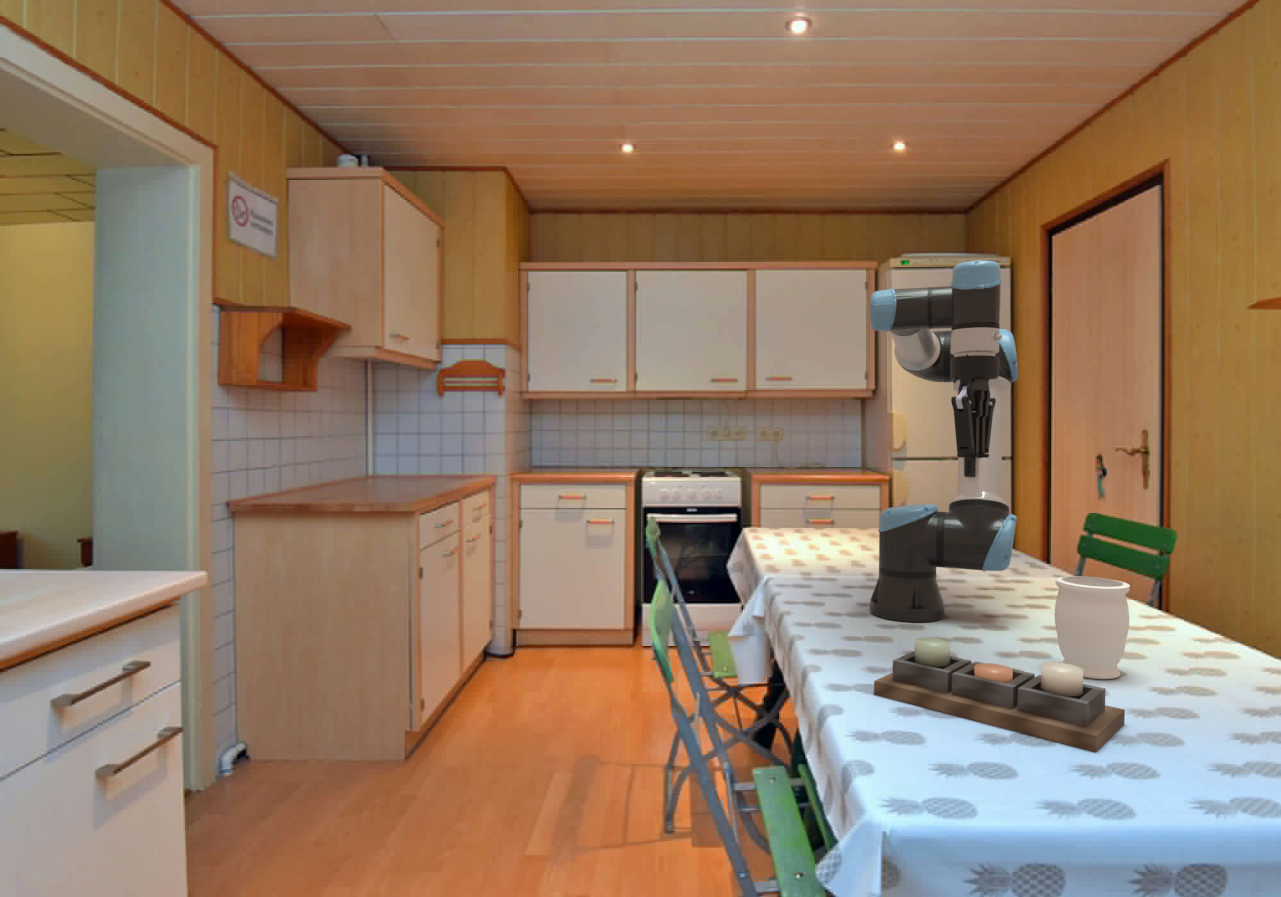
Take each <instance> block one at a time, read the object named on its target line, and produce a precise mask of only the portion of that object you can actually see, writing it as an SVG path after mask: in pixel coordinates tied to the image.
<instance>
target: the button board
mask: <svg viewBox="0 0 1281 897" xmlns="http://www.w3.org/2000/svg"><path fill="white" fill-rule="evenodd" d="M981 663H982V662H980V661H974V662H972V660H971V659H967V658H966V659H965V658H960V657H957V656H951V655H950V665H948V666H944V667H932V666H927V665H922V664H919V663H917V662H915V650H913V651H911V652H909V653H905V655H904V654H903V655H902V656H900V657H898V658H895V659H893V660H892V672H891V673H890V672H889V674H886V675H884V676H882V677H880V678H877V679H876V680H874V682H873V695H876V696H879V697H883V698H887V699H892V700H895V701H899V702H903V703H906V704H911V705H915V706H918V707H922V708H925V709H929V710H932V711H933V710H934V711H937V712H941V713H944V714H949V715H953V716H957V717H959V718H964V719H968V720H971V721H976V722H978V723H979V722H980V723H983V724H986V725H990V726H994V727H999V728H1002V729H1005V730H1009V731H1013V732H1014V731H1015V732H1018V733H1021V734H1026V735H1030V736H1032V737H1037V738H1041V739H1044V740H1048V741H1053V742H1055V743H1060V744H1064V745H1066V746H1072V747H1075V748H1079V749H1083V750H1087V751H1091V752H1094V753H1098V751H1099V750H1100V749H1101V748H1102V747H1103V746H1104V745H1105V744H1107V742H1108V741H1109V740H1110V739H1111V738H1112V737H1113V736H1114V735H1115V734H1116V733H1117V732H1118V731H1119V730H1120V729H1122V728H1123V726H1124V725H1125V720H1126V719H1125V717H1126V715H1125V713H1126V712H1125V711H1126V710H1125V709H1124V708H1119V707H1115V706H1111V705H1106V688H1105V687H1101V686H1100V687H1099V686H1096V685H1090V684H1085V683H1083V694H1082V695H1080V696H1062V695H1057V694H1053V693H1049V692H1046V691H1044V690H1043V689H1041V674H1038V675H1037V676H1036V673H1034V672H1029V671H1024V670H1018V669H1013V668H1011V669H1012V670H1013V680H1012V681H1010V682H1009V683H1003V682H999V681H994V680H990V679H985V678H981V677H976V676H974V666H975V665H976V664H981Z"/></svg>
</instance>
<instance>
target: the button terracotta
mask: <svg viewBox="0 0 1281 897" xmlns="http://www.w3.org/2000/svg"><path fill="white" fill-rule="evenodd" d="M1012 669H1013V668H1011V667H1010V666H1009V667H1008V666H1005V665H1002V664H998V663H987V662H985V663H984V662H981V664H976V665H975V666H974V676H976V677H981V678H985V679H990V680H994V681H999V682H1003V683H1009V682H1010V681H1012V680H1013V670H1012Z"/></svg>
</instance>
